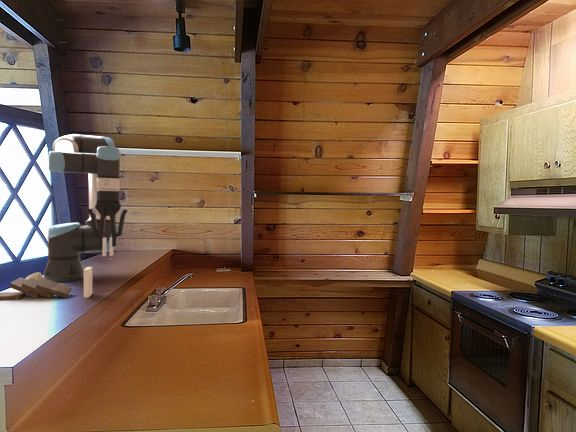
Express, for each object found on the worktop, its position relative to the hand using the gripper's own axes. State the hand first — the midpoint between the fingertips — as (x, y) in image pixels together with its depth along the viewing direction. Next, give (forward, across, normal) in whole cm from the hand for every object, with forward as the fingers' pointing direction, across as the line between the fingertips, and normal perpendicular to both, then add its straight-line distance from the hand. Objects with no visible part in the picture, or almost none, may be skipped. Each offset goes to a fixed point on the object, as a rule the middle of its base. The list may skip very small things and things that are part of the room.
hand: (108, 255), depth 139 cm
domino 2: (+13, -21, 0) cm, 25 cm away
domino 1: (+14, -27, -1) cm, 31 cm away
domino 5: (+14, -6, 0) cm, 16 cm away
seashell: (+15, -27, +7) cm, 32 cm away
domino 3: (+13, -17, -1) cm, 22 cm away
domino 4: (+13, -13, 0) cm, 18 cm away
